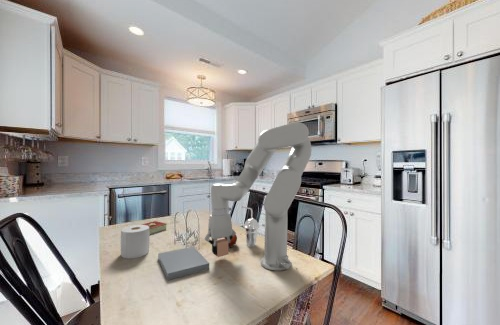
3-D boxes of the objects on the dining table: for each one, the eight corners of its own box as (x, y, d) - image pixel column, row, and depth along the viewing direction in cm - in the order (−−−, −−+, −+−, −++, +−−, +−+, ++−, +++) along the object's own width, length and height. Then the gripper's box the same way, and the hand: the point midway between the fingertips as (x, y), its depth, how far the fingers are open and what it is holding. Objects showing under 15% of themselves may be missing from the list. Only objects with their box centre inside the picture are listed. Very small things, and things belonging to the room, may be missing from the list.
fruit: (238, 246, 108) (230, 232, 109) (225, 253, 110) (217, 239, 111) (242, 241, 116) (234, 227, 117) (229, 247, 118) (222, 234, 118)
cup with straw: (252, 249, 108) (253, 209, 108) (238, 245, 114) (239, 206, 114) (262, 244, 115) (263, 206, 115) (248, 240, 121) (249, 204, 120)
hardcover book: (123, 235, 127) (123, 228, 127) (155, 226, 146) (155, 220, 146) (135, 239, 121) (135, 232, 121) (167, 229, 139) (167, 223, 139)
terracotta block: (228, 254, 97) (228, 240, 97) (218, 257, 94) (217, 243, 94) (223, 250, 101) (223, 237, 101) (213, 253, 98) (213, 239, 98)
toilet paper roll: (142, 246, 112) (142, 223, 111) (154, 252, 104) (154, 228, 104) (116, 253, 102) (116, 228, 102) (127, 261, 95) (127, 234, 95)
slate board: (209, 269, 89) (209, 263, 89) (167, 280, 80) (167, 273, 80) (193, 251, 106) (193, 246, 106) (158, 259, 97) (158, 253, 97)
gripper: (233, 207, 105) (234, 245, 105) (198, 212, 96) (199, 254, 96) (241, 210, 99) (241, 251, 99) (204, 216, 90) (205, 260, 90)
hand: (220, 252), depth 97 cm, fingers closed on terracotta block, 5 cm apart
